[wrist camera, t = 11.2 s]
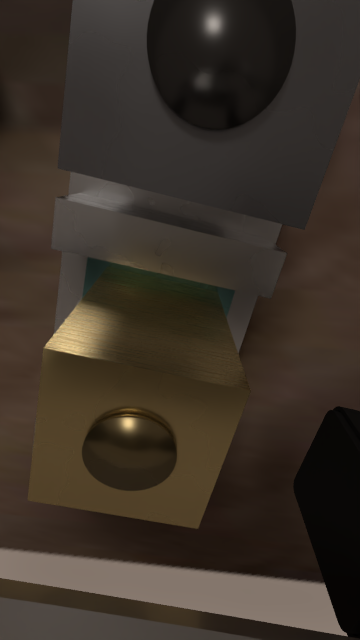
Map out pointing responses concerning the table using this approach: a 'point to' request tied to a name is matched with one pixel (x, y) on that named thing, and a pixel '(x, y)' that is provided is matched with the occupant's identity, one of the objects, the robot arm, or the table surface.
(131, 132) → the dark knobbed cube
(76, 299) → the rail
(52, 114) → the table surface
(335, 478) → the robot arm
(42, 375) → the yellow tall block
